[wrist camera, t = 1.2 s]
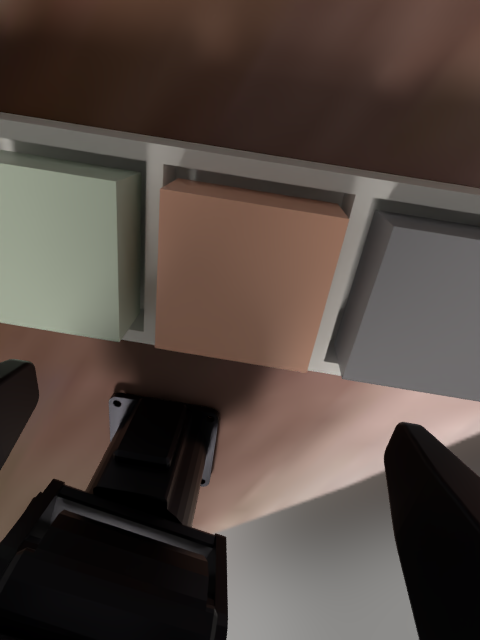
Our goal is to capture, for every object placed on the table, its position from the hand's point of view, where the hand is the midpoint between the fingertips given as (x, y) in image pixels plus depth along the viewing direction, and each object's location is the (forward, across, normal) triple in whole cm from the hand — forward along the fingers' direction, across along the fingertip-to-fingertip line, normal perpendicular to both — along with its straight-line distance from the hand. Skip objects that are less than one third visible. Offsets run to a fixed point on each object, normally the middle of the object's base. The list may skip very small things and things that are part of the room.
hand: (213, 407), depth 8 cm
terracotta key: (+9, 0, 0) cm, 9 cm away
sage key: (+9, +7, 0) cm, 11 cm away
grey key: (+9, -7, 0) cm, 11 cm away
